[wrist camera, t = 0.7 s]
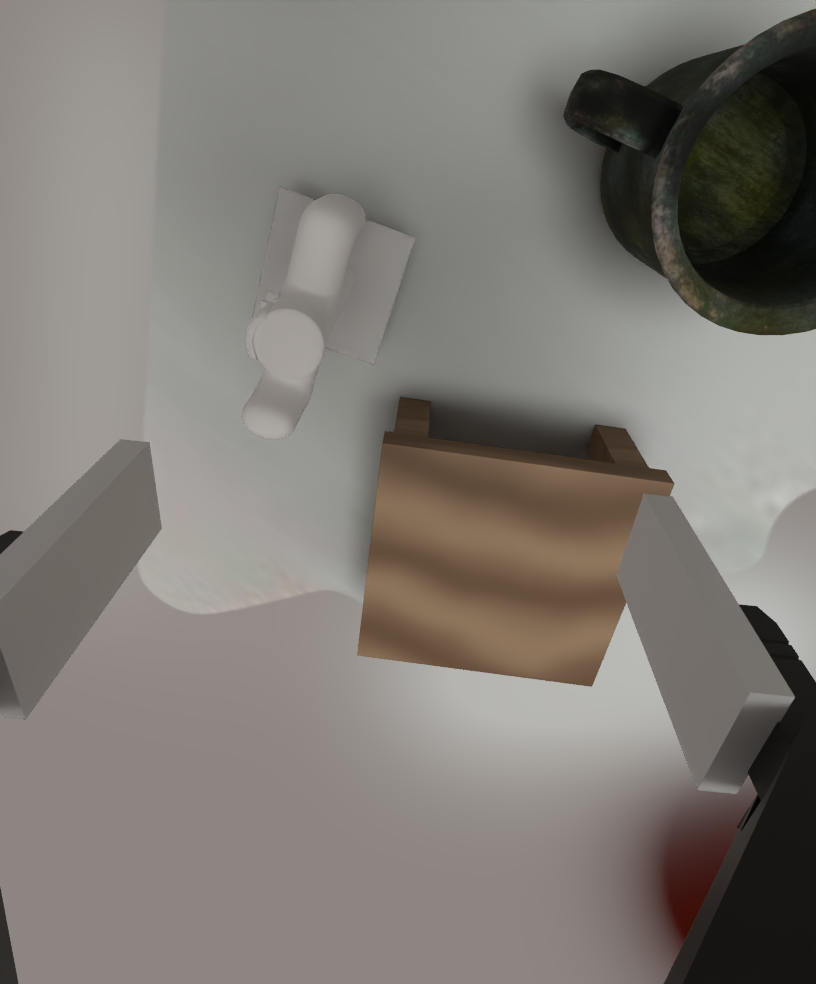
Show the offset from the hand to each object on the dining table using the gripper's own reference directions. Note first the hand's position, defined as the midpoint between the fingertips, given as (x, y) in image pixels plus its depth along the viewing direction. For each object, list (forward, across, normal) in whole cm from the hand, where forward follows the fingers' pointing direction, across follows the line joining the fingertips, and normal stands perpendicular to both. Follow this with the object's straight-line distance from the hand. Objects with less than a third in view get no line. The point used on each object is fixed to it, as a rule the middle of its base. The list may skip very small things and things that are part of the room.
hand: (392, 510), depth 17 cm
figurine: (+24, -5, +1) cm, 24 cm away
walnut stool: (+24, +6, -14) cm, 28 cm away
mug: (+24, +12, +9) cm, 28 cm away
